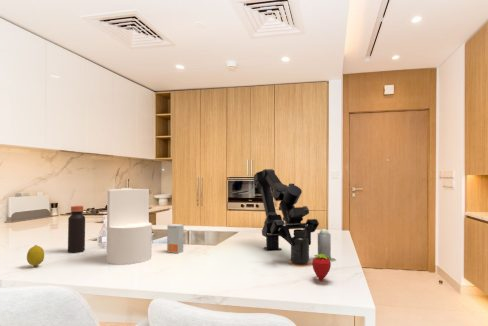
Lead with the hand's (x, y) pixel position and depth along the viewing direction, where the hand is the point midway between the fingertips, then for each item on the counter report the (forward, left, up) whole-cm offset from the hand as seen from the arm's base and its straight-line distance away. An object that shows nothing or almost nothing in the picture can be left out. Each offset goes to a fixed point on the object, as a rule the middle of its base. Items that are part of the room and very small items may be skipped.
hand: (301, 245), depth 126 cm
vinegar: (-51, -85, -8) cm, 100 cm away
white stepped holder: (-30, -62, -8) cm, 69 cm away
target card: (-3, +5, -8) cm, 10 cm away
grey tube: (-4, +12, -7) cm, 15 cm away
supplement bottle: (-1, 0, -7) cm, 7 cm away
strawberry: (+18, -2, -8) cm, 20 cm away
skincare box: (-37, -43, -8) cm, 57 cm away
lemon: (-28, -95, -8) cm, 99 cm away
